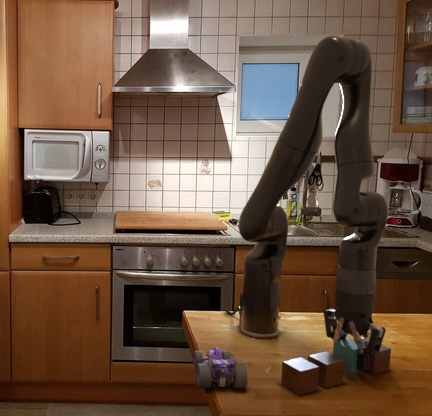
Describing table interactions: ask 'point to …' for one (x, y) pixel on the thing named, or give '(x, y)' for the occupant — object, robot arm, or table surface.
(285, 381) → the walnut block
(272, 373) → the table surface
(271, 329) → the robot arm
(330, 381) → the walnut block
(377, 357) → the walnut block
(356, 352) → the teal block
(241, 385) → the toy race car
